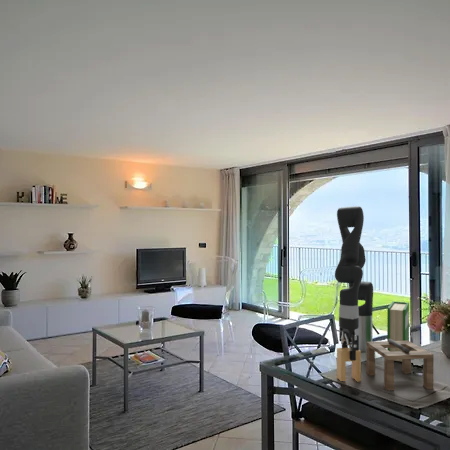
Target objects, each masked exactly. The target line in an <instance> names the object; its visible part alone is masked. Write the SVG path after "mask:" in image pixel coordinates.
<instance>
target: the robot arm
mask: <svg viewBox="0 0 450 450" xmlns="http://www.w3.org/2000/svg"><path fill="white" fill-rule="evenodd" d="M363 210H364V209H363V208H362V206H359V205H358V206H357V205H353V206H344V207H338V208H337V210H336V218H337V224H338V228H339V232H340V235H341V241H342V245H341V249H340V259H339V262H338V264H337V266H336V268H335V272H334V278H335V281H337V282H338V283H340V284H341V283H342V284H348V288H343V289H342V288H341V289H340V291H339V307H338V326H339V331H338V332H339V334H338V335H339V337H338V338H339V342H340V344H341V348H349V349H350V360H351V361H350V362H352V361H355V360H356V351H359V350H360V351H361V353H363V352H364V353H366V342H373V310H374V309H373V308H374V307H373V306H374V305H373V303H374V301H373V300H374V285H373V283H372V282H370V281H362V280H363V275H364V271H363V268H364V266H365V265H366V252H365V248H364V246H363V245H362V243H361V237H362V233H363V227H364V217H365V216H364V211H363ZM349 228H353V229H352V231H350V229H349ZM359 301H365V302H364V303H363V304H361V305H359Z"/></svg>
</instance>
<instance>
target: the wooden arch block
mask: <svg viewBox="0 0 450 450" xmlns="http://www.w3.org/2000/svg"><path fill="white" fill-rule="evenodd" d="M361 358H362V352H361V351H360V350H359V351H356V360H355V361H351V360H350V349H349V347H348V348H342V347H336V379H337V380H338V379H339V380H340V381H346V371H347V369H346V368H347V367H346V366H347V365H346V364H347V363H346V362H351V378H352V377H353V378H354V379H355V380H356V381H357V382H361V381H362V380H361V379H362V375H361V374H362V372H361V370H362V364H361V362H362V359H361ZM353 378H352V379H353ZM354 379H353V380H354ZM355 380H354V381H355ZM340 381H339V382H340ZM356 381H355V382H356Z"/></svg>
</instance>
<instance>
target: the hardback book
mask: <svg viewBox="0 0 450 450" xmlns="http://www.w3.org/2000/svg"><path fill="white" fill-rule="evenodd" d="M386 313H387V315H386V316H387V317H386V318H387V319H386V320H387V322H386V323H387V327H386V328H387V329H386V331H387V336H386V337H387V339H386V341H388V339H392V340H393V341H410V303H409V302H405V301H393V300H392V302H391V303H390V304H389V305H388V307H387V312H386ZM386 349H387V350H389V351H390V352H398V351H402V350H401V349H399V348H386ZM395 361H396V362H401V363H402V359H398V360H394V362H395Z"/></svg>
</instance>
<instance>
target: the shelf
mask: <svg viewBox="0 0 450 450" xmlns="http://www.w3.org/2000/svg"><path fill="white" fill-rule="evenodd" d="M387 348H399V349H401V350H402V351H398V352H390V351H389V350H387ZM376 353H377V354H378V355H380V356H381V357H383V363H384V365H383V367H384V370H383V377H384V378H383V389H385V390H386V391H387V390H389V391H388V392H391V391H390V390H393V391H394V390H395V361H394V360H398V359H402V362H401V372H402V373H403V374H405V375H409V374H408V373H411V374H412V364H411V359H412V360H414V359H419V360H421V359H422V361H423V367H422V369H423V371H422V375H423V377H422V382H423V383H422V387H423V386H424V388H425V389H427V390H433V389H434V353H433V352H430V351H429V350H426V349H425V348H423V347H421V346H419V345H417V344H415V343H413V342H412V341H410V340H409V341H393V340H392V339H388V341H387V340H385V341H384V340H383V341H382V340H381V341H372V342H366V352H365V354H366V355H365V356H366V360H365V361H366V363H365V364H366V366H365V367H366V369H365V370H366V373H365V374H367V375H368V376H375V375H376V373H375V372H376Z"/></svg>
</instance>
